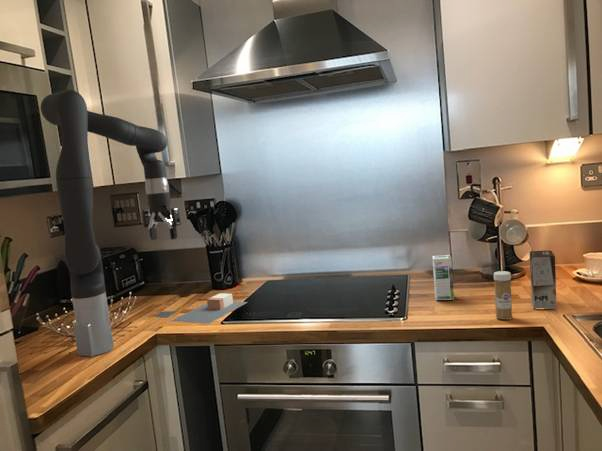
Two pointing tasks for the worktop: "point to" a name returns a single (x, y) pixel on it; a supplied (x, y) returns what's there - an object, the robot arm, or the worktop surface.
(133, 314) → the worktop surface
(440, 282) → the syrup box
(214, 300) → the card box
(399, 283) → the worktop surface
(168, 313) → the smartphone
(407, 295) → the worktop surface
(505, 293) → the sprinkles bottle
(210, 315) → the mat
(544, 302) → the coffee box
